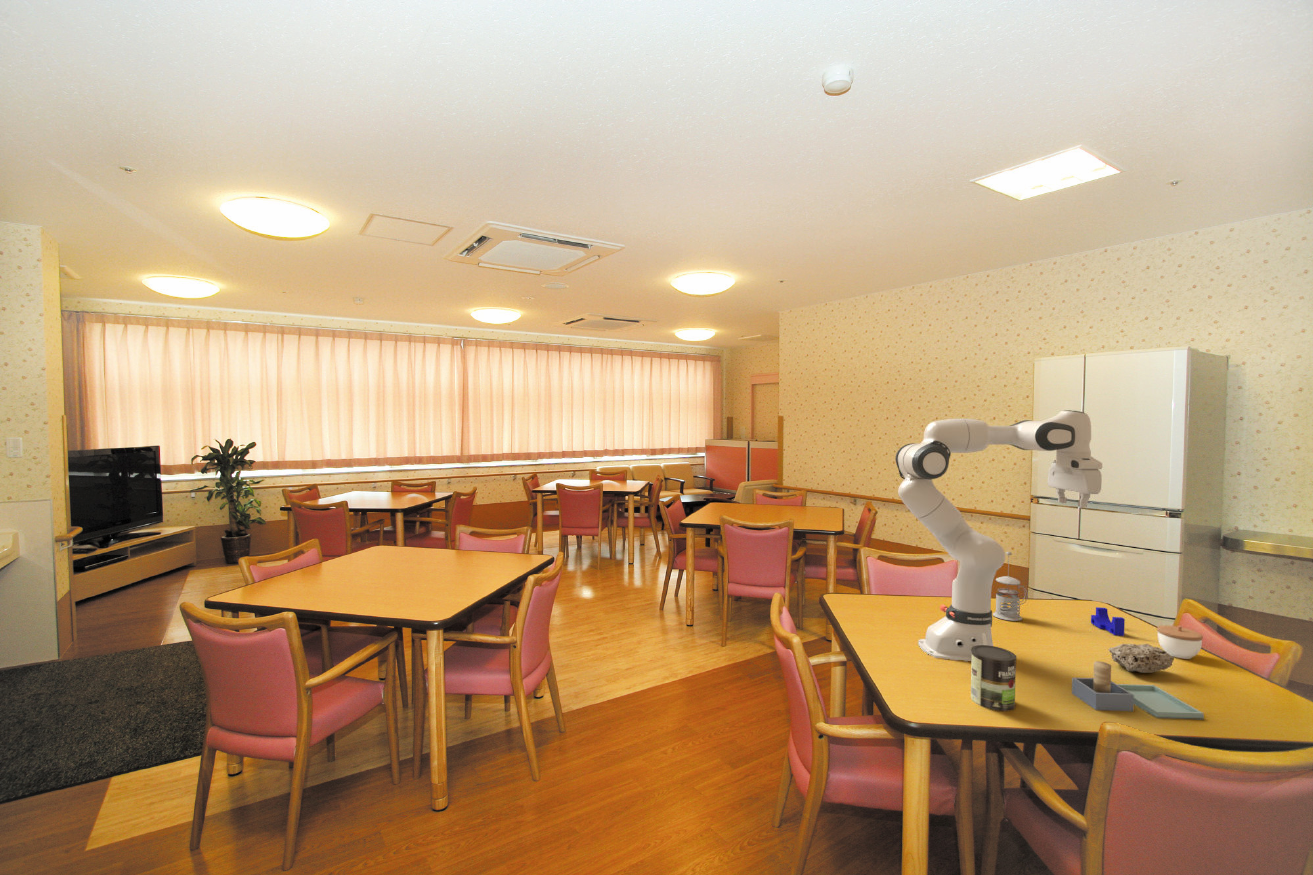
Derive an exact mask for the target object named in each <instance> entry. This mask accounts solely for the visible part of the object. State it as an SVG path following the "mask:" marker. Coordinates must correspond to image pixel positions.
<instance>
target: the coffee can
mask: <svg viewBox="0 0 1313 875" xmlns="http://www.w3.org/2000/svg"><path fill="white" fill-rule="evenodd" d="M971 652H972V661H971V665H970V666H971V667H970V669H971V670H970V672H971V674H970V677H971V679H970V699H971V701H972V702H973V703H974V704H976V705H977V706H980V707H983V708H985V709H989V710H992V711H999V712H1010V711H1013V710H1015V707H1016V677H1017V676H1016V671H1017V670H1016V669H1017V655H1016V654H1015V653H1014V652H1012V651H1011V650H1008V649H1006V648H1002V647H1000V646H994V645H993V646H989V645H977V646H973V647H972V648H971Z"/></svg>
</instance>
